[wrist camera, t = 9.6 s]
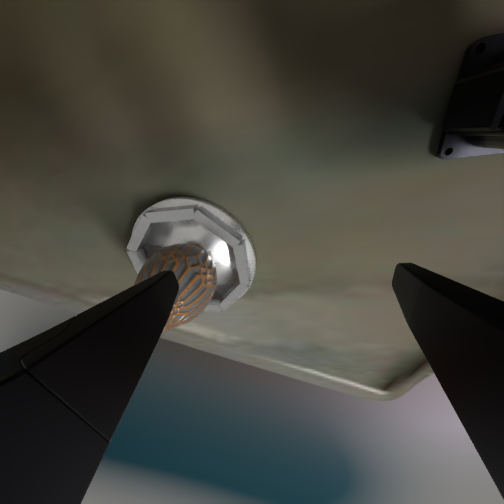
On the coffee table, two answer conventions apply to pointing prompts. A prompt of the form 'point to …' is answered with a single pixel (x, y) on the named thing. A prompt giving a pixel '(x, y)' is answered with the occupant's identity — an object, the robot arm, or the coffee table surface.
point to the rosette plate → (198, 242)
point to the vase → (184, 279)
